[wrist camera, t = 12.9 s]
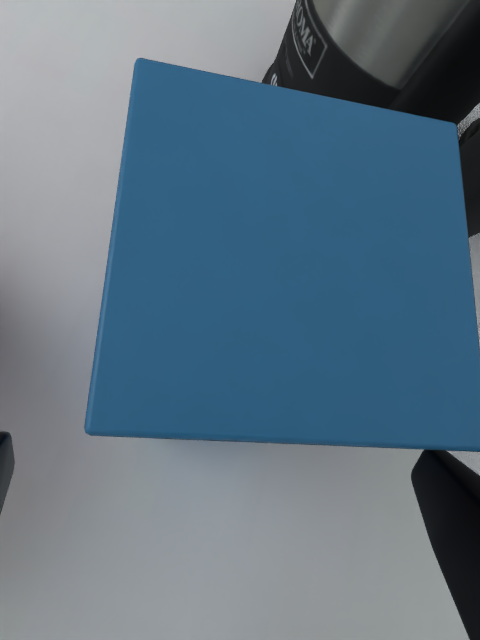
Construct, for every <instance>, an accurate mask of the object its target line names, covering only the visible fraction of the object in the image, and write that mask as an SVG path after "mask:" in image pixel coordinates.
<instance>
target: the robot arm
mask: <svg viewBox="0 0 480 640" xmlns="http://www.w3.org/2000/svg"><path fill="white" fill-rule="evenodd" d="M14 463H15V461H14V453H13V446H12V439H11V435H10V433H8V432H0V514H1V511H2V507H3V504H4V501H5V497H6V494H7V491H8V488H9V484H10V481H11V478H12V474H13V471H14ZM411 480H412V484H413V487H414V491H415V494H416V497H417V500H418V504H419V507H420V510H421V513H422V517H423V520H424V523H425V527H426V530H427V533H428V536H429V539H430V542H431V545H432V548H433V551H434V553H435V556H436V558H437V561H438V563H439V566H440V568H441V571H442V573H443V575H444V578H445V580H446V583H447V585H448V588H449V590H450V593H451V595H452V597H453V600H454V602H455V605H456V607H457V610H458V612H459V615H460V617H461V619H462V622H463V624H464V627H465V629H466V632H467V634H468V637H469V639H470V640H480V476H479V475H478V474H476V473H475V472H474V471H472V470H471V469H470V468H469V467H467V466H466V465H465V464H463V463H462V462H461V461H459V460H458V459H457V458H455V457H454V456H453V455H451V454H450V453H449V452H447V451H446V450H424V451H423V452H422V454H421V455H420V457H419V459H418V461H417V463H416V464H415V466H414V468H413V470H412V473H411Z"/></svg>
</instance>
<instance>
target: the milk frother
mask: <svg viewBox="0 0 480 640" xmlns="http://www.w3.org/2000/svg"><path fill="white" fill-rule="evenodd" d="M262 83H264V84H269V85H274V86H278V87H283V88H288V89H293V90H298V91H302V92H307V93H312V94H317V95H322V96H327V97H331V98H336V99H341V100H346V101H351V102H356V103H360V104H365V105H370V106H375V107H380V108H385V109H389V110H394V111H399V112H404V113H409V114H413V115H418V116H423V117H428V118H433V119H438V120H442V121H447V122H452V123H455V124H456V126H457V125H458V124H459V123H460V122H461V121H462V120H463V119H464V118H465V117H466V116H467V115H468V114H469V113H470V112H471V111H472V110H473V108H474V107H475V106H476V105H478V104H479V103H480V0H296V3H295V7H294V9H293V12H292V15H291V18H290V21H289V24H288V26H287V29H286V32H285V34H284V37H283V40H282V43H281V46H280V49H279V51H278V54H277V57H276V59H275V61H274V63H273V64H272V65H271V66H270V68H269V69H268V71H267V73H266V74H265V76H264V78H263V80H262ZM459 151H460V161H461V170H462V180H463V190H464V200H465V210H466V220H467V229H468V238H469V237H471V236H473V235H475V234H477V233H479V232H480V118H478V119H477V120H475V121H474V122H472V123H471V124H470V126H469V127H468V128H467V129H466V130H465V131H464V133H463V134H462V136H461V137H460V140H459Z"/></svg>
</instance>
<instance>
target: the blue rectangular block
mask: <svg viewBox="0 0 480 640" xmlns="http://www.w3.org/2000/svg"><path fill="white" fill-rule="evenodd" d="M84 428H85V432H86V433H87V434H89V435H91V436H113V437H137V438H161V439H185V440H209V441H233V442H257V443H281V444H305V445H329V446H353V447H377V448H401V449H425V450H449V451H473V452H480V347H479V337H478V328H477V318H476V308H475V298H474V288H473V278H472V269H471V259H470V249H469V239H468V229H467V220H466V210H465V200H464V190H463V180H462V170H461V161H460V151H459V141H458V131H457V126H456V124H455V123H452V122H447V121H442V120H438V119H433V118H428V117H423V116H418V115H413V114H409V113H404V112H399V111H394V110H389V109H385V108H380V107H375V106H370V105H365V104H360V103H356V102H351V101H346V100H341V99H336V98H331V97H327V96H322V95H317V94H312V93H307V92H302V91H298V90H293V89H288V88H283V87H278V86H274V85H269V84H264V83H259V82H254V81H249V80H245V79H240V78H235V77H230V76H225V75H220V74H216V73H211V72H206V71H201V70H196V69H192V68H187V67H182V66H177V65H172V64H167V63H163V62H158V61H153V60H148V59H143V58H138V59H137V60H136V62H135V64H134V72H133V79H132V86H131V93H130V101H129V108H128V115H127V122H126V129H125V137H124V144H123V151H122V158H121V166H120V173H119V180H118V187H117V195H116V202H115V209H114V216H113V224H112V231H111V238H110V245H109V252H108V260H107V267H106V274H105V281H104V289H103V296H102V303H101V310H100V318H99V325H98V332H97V339H96V346H95V354H94V361H93V368H92V375H91V383H90V390H89V397H88V404H87V412H86V419H85V426H84Z"/></svg>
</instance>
